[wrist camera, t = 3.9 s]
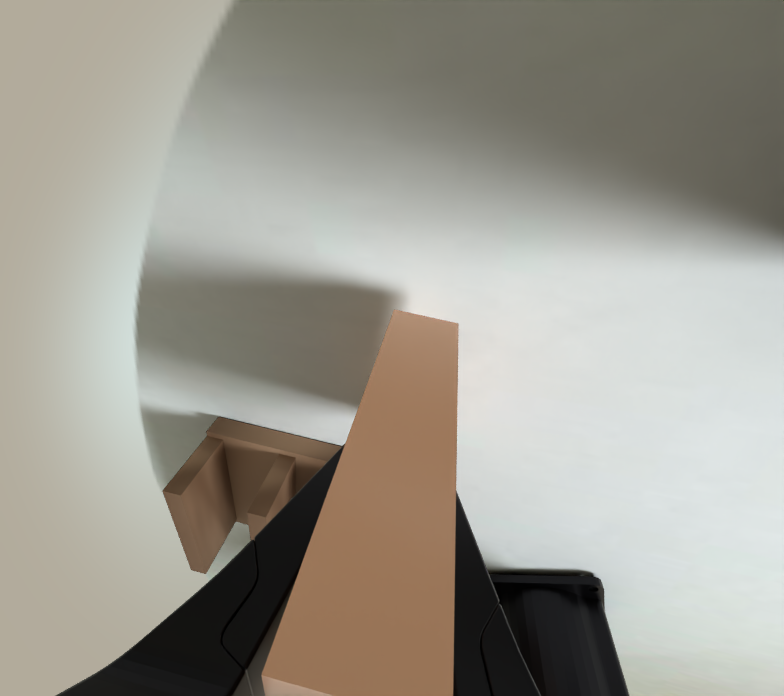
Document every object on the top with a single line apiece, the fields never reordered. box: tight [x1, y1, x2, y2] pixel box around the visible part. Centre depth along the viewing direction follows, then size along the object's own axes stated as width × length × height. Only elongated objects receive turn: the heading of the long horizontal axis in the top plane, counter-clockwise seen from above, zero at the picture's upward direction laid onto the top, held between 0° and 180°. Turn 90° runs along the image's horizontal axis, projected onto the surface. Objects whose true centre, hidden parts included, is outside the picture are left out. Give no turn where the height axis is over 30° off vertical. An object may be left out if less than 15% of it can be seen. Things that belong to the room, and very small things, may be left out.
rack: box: [163, 417, 341, 574], centre depth 17 cm, size 12×8×4 cm, turn 81°
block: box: [261, 310, 458, 696], centre depth 9 cm, size 2×6×8 cm, turn 171°
